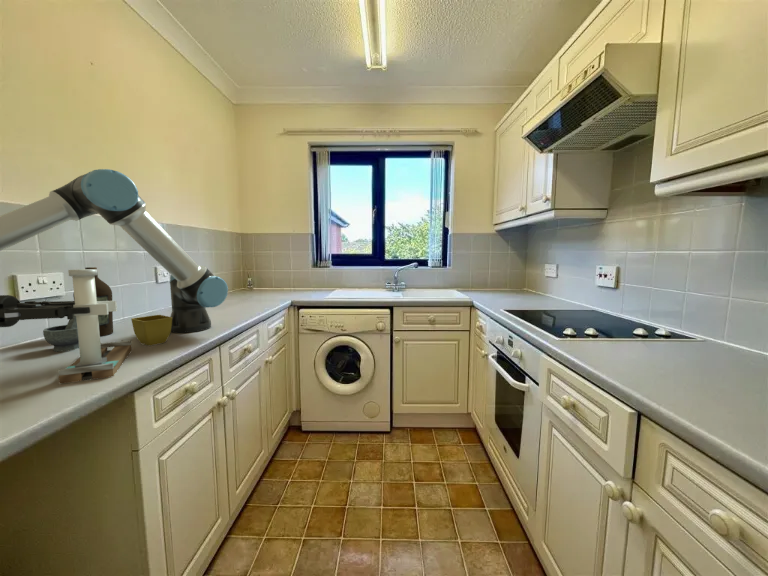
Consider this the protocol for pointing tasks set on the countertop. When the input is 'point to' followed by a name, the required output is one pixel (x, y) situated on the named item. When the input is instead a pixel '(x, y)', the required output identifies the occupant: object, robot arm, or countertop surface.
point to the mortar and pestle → (63, 336)
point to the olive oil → (103, 295)
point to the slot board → (98, 371)
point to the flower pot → (152, 329)
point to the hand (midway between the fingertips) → (111, 307)
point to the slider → (87, 318)
